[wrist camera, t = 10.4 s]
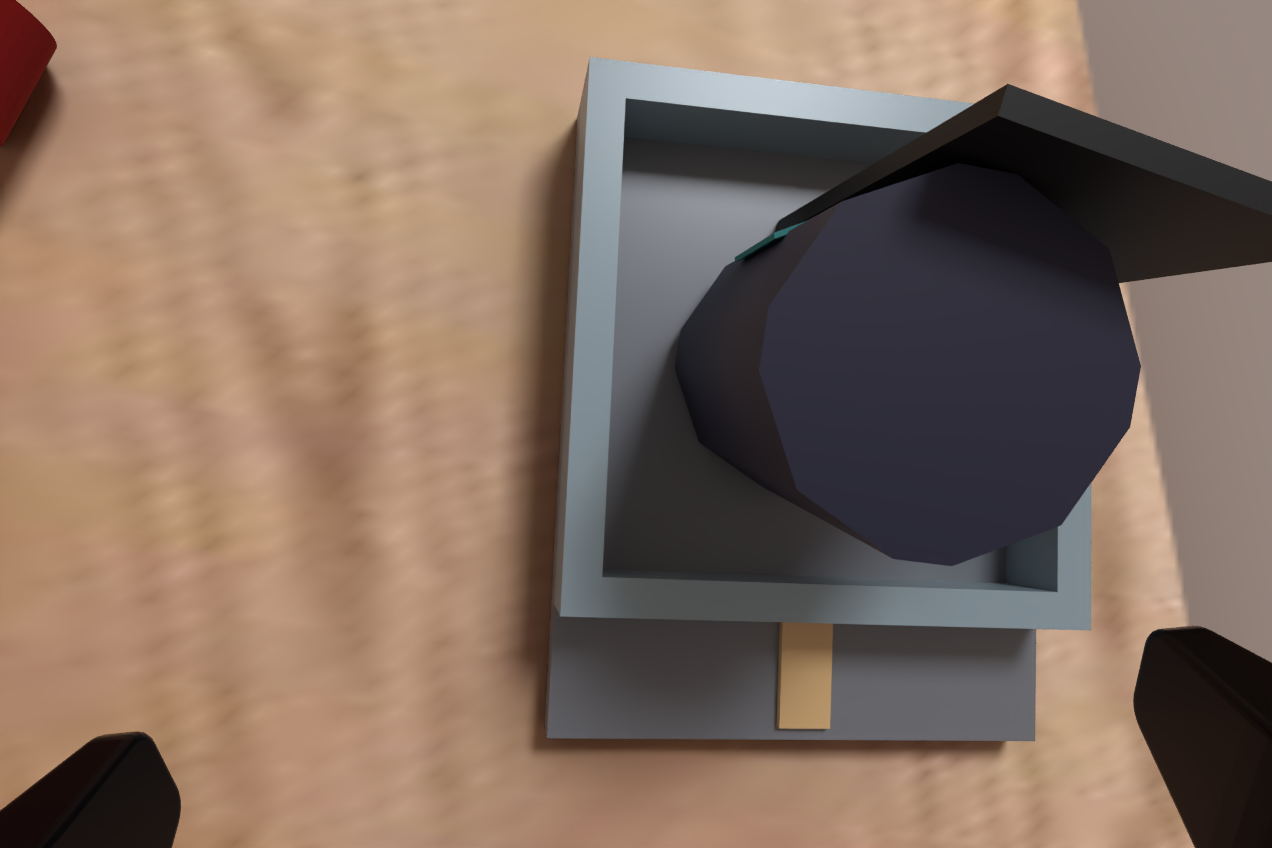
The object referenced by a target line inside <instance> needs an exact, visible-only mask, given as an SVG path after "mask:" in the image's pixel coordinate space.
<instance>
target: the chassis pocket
mask: <svg viewBox="0 0 1272 848" xmlns="http://www.w3.org/2000/svg"><path fill="white" fill-rule="evenodd" d="M973 104H974V103H965V102H957V101H949V100H941V99H932V98H924V97H916V96H908V95H899V94H891V93H883V92H874V91H866V90H858V89H850V88H841V87H833V86H825V85H817V84H808V83H800V82H792V81H784V80H775V79H767V78H759V77H750V76H742V75H734V74H726V73H717V72H709V71H701V70H693V69H684V68H676V67H668V66H659V65H651V64H643V63H635V62H626V61H618V60H610V59H602V58H593V57H590V59H589V63H588V68H587V73H586V78H585V83H584V87H583V92H582V97H581V102H580V107H579V111H578V116H577V133H576V151H575V170H574V189H573V207H572V226H571V244H570V263H569V282H568V300H567V319H566V338H565V356H564V375H563V393H562V412H561V431H560V449H559V468H558V487H557V505H556V524H555V542H554V561H553V580H552V598H551V617H550V636H549V654H548V673H547V692H546V710H545V731H546V736H547V738H571V739H751V740H932V741H1035V689H1036V629H1059V630H1091V484H1090V485H1089V486H1088V488H1087V489H1086V491H1085V492H1084V494H1083V495H1082V497H1081V498H1080V499H1079V501H1078V502H1077V504H1076V505H1075V507H1074V508H1073V509H1072V511H1071V512H1070V514H1069V515H1068V517H1067V518H1066V519H1065V521H1064V522H1063V524H1062V525H1061V526H1058V527H1056V528H1053V529H1050V530H1048V531H1045V532H1042V533H1040V534H1037V535H1034V536H1032V537H1029V538H1026V539H1024V540H1021V541H1018V542H1016V543H1013V544H1010V545H1008V546H1005V547H1002V548H1000V549H997V550H994V551H992V552H989V553H986V554H984V555H981V556H978V557H976V558H973V559H970V560H968V561H965V562H962V563H960V564H957V565H954V566H945V565H937V564H929V563H921V562H913V561H905V560H897V559H892V558H891V557H889V556H887V555H885V554H883V553H882V552H880V551H878V550H876V549H874V548H873V547H871V546H869V545H867V544H865V543H863V542H862V541H860V540H858V539H856V538H854V537H853V536H851V535H849V534H847V533H845V532H843V531H842V530H840V529H838V528H836V527H834V526H833V525H831V524H829V523H827V522H825V521H824V520H822V519H820V518H818V517H816V516H814V515H813V514H811V513H809V512H807V511H805V510H804V509H802V508H800V507H798V506H796V505H795V504H793V503H791V502H789V501H787V500H785V499H784V498H782V497H780V496H778V495H776V494H775V493H773V492H771V491H769V490H767V489H766V488H764V487H762V486H760V485H759V484H757V483H756V482H754V481H753V480H752V479H750V478H749V477H747V476H746V475H745V474H743V473H742V472H740V471H739V470H738V469H736V468H735V467H733V466H732V465H730V464H729V463H728V462H726V461H725V460H723V459H722V458H721V457H719V456H718V455H716V454H715V453H714V452H712V451H711V450H709V449H708V448H707V447H705V446H704V445H702V444H701V443H700V442H699V441H698V438H697V434H696V431H695V428H694V425H693V422H692V419H691V416H690V413H689V410H688V407H687V404H686V401H685V398H684V395H683V392H682V389H681V386H680V383H679V380H678V377H677V374H676V371H675V365H676V358H677V351H678V344H679V337H680V331H681V328H682V327H683V326H684V324H685V323H686V321H687V320H688V318H689V317H690V316H691V314H692V313H693V311H694V310H695V309H696V307H697V306H698V304H699V303H700V301H701V300H702V299H703V297H704V296H705V294H706V293H707V291H708V290H709V289H710V287H711V286H712V284H713V283H714V281H715V280H716V279H717V277H718V276H719V274H720V273H721V271H722V270H723V269H724V267H725V266H726V265H728V264H730V263H732V262H733V261H735V257H736V256H738V255H739V254H741V253H742V252H744V251H746V250H747V249H749V248H750V247H752V246H754V245H755V244H757V243H758V242H760V241H762V240H763V239H765V238H766V237H768V236H770V235H771V234H773V233H775V231H776V227H777V224H778V221H779V220H780V219H782V218H784V217H785V216H787V215H789V214H790V213H792V212H794V211H795V210H797V209H799V208H800V207H802V206H804V205H805V204H807V203H809V202H811V201H812V200H814V199H816V198H817V197H819V196H821V195H822V194H824V193H826V192H827V191H829V190H831V189H832V188H834V187H836V186H837V185H839V184H841V183H842V182H844V181H846V180H847V179H849V178H851V177H852V176H854V175H856V174H858V173H859V172H861V171H863V170H864V169H866V168H868V167H869V166H871V165H873V164H874V163H876V162H878V161H879V160H881V159H883V158H884V157H886V156H888V155H889V154H891V153H893V152H894V151H896V150H898V149H899V148H901V147H903V146H905V145H906V144H908V143H910V142H911V141H913V140H915V139H916V138H918V137H920V136H921V135H923V134H925V133H926V132H928V131H930V130H931V129H933V128H935V127H936V126H938V125H940V124H941V123H943V122H945V121H947V120H948V119H950V118H952V117H953V116H955V115H957V114H958V113H960V112H962V111H963V110H965V109H967V108H968V107H970V106H972V105H973Z"/></svg>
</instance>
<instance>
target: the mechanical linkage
mask: <svg viewBox="0 0 1272 848" xmlns="http://www.w3.org/2000/svg"><path fill="white" fill-rule="evenodd" d="M56 48H57V44H56V41H55V39H54V38H53V36H52V35H51V33H50V32H49V31H48V30H47V29H46V27H45V26H44V25H43V24H42V23H41V22H40V21H39V20H38V19H37V18H35V17H34V16H33V15H32V14H31V13H30V12H29V11H28V10H27V9H25V8H24V7H23V6H22V5H21V4H20V3H18V2H17V1H16V0H0V146H3V145H4V143H5V141H6V139H7V137H8V135H9V134H10V132H11V130H12V128H13V126H14V125H15V123H16V121H17V119H18V117H19V116H20V114H21V112H22V110H23V108H24V106H25V105H26V103H27V101H28V99H29V97H30V96H31V94H32V92H33V90H34V88H35V86H36V85H37V83H38V81H39V79H40V77H41V76H42V74H43V72H44V70H45V68H46V66H47V65H48V63H49V61H50V59H51V57H52V56H53V54H54V52H55V50H56Z"/></svg>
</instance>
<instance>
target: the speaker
mask: <svg viewBox="0 0 1272 848" xmlns="http://www.w3.org/2000/svg"><path fill="white" fill-rule="evenodd" d="M1266 262H1272V182H1271V181H1269V180H1266V179H1263V178H1260V177H1258V176H1255V175H1252V174H1250V173H1247V172H1244V171H1242V170H1239V169H1236V168H1233V167H1231V166H1228V165H1225V164H1223V163H1220V162H1217V161H1214V160H1212V159H1209V158H1206V157H1204V156H1201V155H1198V154H1195V153H1193V152H1190V151H1188V150H1185V149H1182V148H1179V147H1177V146H1174V145H1171V144H1169V143H1166V142H1163V141H1161V140H1158V139H1155V138H1153V137H1150V136H1147V135H1144V134H1142V133H1139V132H1136V131H1133V130H1131V129H1128V128H1126V127H1123V126H1120V125H1117V124H1115V123H1112V122H1109V121H1107V120H1104V119H1101V118H1099V117H1096V116H1093V115H1090V114H1088V113H1085V112H1082V111H1080V110H1077V109H1074V108H1072V107H1069V106H1066V105H1063V104H1061V103H1058V102H1055V101H1053V100H1050V99H1047V98H1045V97H1042V96H1039V95H1036V94H1034V93H1031V92H1028V91H1026V90H1023V89H1020V88H1018V87H1015V86H1012V85H1009V84H1007V85H1005V86H1004V87H1002V88H1000V89H999V90H997V91H995V92H994V93H992V94H990V95H988V96H987V97H985V98H983V99H982V100H980V101H978V102H977V103H975V104H973V105H972V106H970V107H968V108H967V109H965V110H963V111H962V112H960V113H958V114H957V115H955V116H953V117H952V118H950V119H948V120H947V121H945V122H943V123H941V124H940V125H938V126H936V127H935V128H933V129H931V130H930V131H928V132H926V133H925V134H923V135H921V136H920V137H918V138H916V139H915V140H913V141H911V142H910V143H908V144H906V145H905V146H903V147H901V148H899V149H898V150H896V151H894V152H893V153H891V154H889V155H888V156H886V157H884V158H883V159H881V160H879V161H878V162H876V163H874V164H873V165H871V166H869V167H868V168H866V169H864V170H863V171H861V172H859V173H858V174H856V175H854V176H852V177H851V178H849V179H847V180H846V181H844V182H842V183H841V184H839V185H837V186H836V187H834V188H832V189H831V190H829V191H827V192H826V193H824V194H822V195H821V196H819V197H817V198H816V199H814V200H812V201H811V202H809V203H807V204H805V205H804V206H802V207H800V208H799V209H797V210H795V211H794V212H792V213H790V214H789V215H787V216H785V217H784V218H782V219H780V220H779V221H778V224H777V227H776V231H775V233H773V234H771V235H770V236H768V237H766V238H765V239H763V240H762V241H760V242H758V243H757V244H755V245H754V246H752V247H750V248H749V249H747V250H746V251H744V252H742V253H741V254H739V255H738V256H736V257H735V261H733V262H732V263H730V264H728V265H726V266H725V267H724V269H723V270H722V271H721V273H720V274H719V276H718V277H717V279H716V280H715V281H714V283H713V284H712V286H711V287H710V289H709V290H708V291H707V293H706V294H705V296H704V297H703V299H702V300H701V301H700V303H699V304H698V306H697V307H696V309H695V310H694V311H693V313H692V314H691V316H690V317H689V318H688V320H687V321H686V323H685V324H684V326H683V327H682V328H681V331H680V337H679V344H678V351H677V358H676V365H675V371H676V374H677V377H678V380H679V383H680V386H681V389H682V392H683V395H684V398H685V401H686V404H687V407H688V410H689V413H690V416H691V419H692V422H693V425H694V428H695V431H696V434H697V438H698V441H699V442H700V443H701V444H702V445H704V446H705V447H707V448H708V449H709V450H711V451H712V452H714V453H715V454H716V455H718V456H719V457H721V458H722V459H723V460H725V461H726V462H728V463H729V464H730V465H732V466H733V467H735V468H736V469H738V470H739V471H740V472H742V473H743V474H745V475H746V476H747V477H749V478H750V479H752V480H753V481H754V482H756V483H757V484H759V485H760V486H762V487H764V488H766V489H767V490H769V491H771V492H773V493H775V494H776V495H778V496H780V497H782V498H784V499H785V500H787V501H789V502H791V503H793V504H795V505H796V506H798V507H800V508H802V509H804V510H805V511H807V512H809V513H811V514H813V515H814V516H816V517H818V518H820V519H822V520H824V521H825V522H827V523H829V524H831V525H833V526H834V527H836V528H838V529H840V530H842V531H843V532H845V533H847V534H849V535H851V536H853V537H854V538H856V539H858V540H860V541H862V542H863V543H865V544H867V545H869V546H871V547H873V548H874V549H876V550H878V551H880V552H882V553H883V554H885V555H887V556H889V557H891V558H892V559H897V560H905V561H913V562H921V563H929V564H937V565H945V566H954V565H957V564H960V563H962V562H965V561H968V560H970V559H973V558H976V557H978V556H981V555H984V554H986V553H989V552H992V551H994V550H997V549H1000V548H1002V547H1005V546H1008V545H1010V544H1013V543H1016V542H1018V541H1021V540H1024V539H1026V538H1029V537H1032V536H1034V535H1037V534H1040V533H1042V532H1045V531H1048V530H1050V529H1053V528H1056V527H1058V526H1061V525H1062V524H1063V522H1064V521H1065V519H1066V518H1067V517H1068V515H1069V514H1070V512H1071V511H1072V509H1073V508H1074V507H1075V505H1076V504H1077V502H1078V501H1079V499H1080V498H1081V497H1082V495H1083V494H1084V492H1085V491H1086V489H1087V488H1088V486H1089V485H1090V484H1091V482H1092V481H1093V479H1094V478H1095V476H1096V475H1097V474H1098V472H1099V471H1100V469H1101V468H1102V466H1103V465H1104V464H1105V462H1106V461H1107V459H1108V458H1109V456H1110V455H1111V453H1112V452H1113V451H1114V449H1115V448H1116V446H1117V445H1118V443H1119V442H1120V441H1121V439H1122V438H1123V436H1124V435H1125V433H1126V432H1127V431H1128V429H1129V428H1130V424H1131V419H1132V413H1133V408H1134V402H1135V396H1136V391H1137V385H1138V380H1139V374H1140V368H1141V365H1140V361H1139V357H1138V354H1137V350H1136V346H1135V343H1134V339H1133V335H1132V331H1131V328H1130V324H1129V320H1128V316H1127V313H1126V309H1125V305H1124V301H1123V298H1122V294H1121V290H1120V286H1119V283H1123V282H1130V281H1138V280H1144V279H1151V278H1159V277H1166V276H1172V275H1180V274H1188V273H1195V272H1202V271H1208V270H1216V269H1223V268H1230V267H1238V266H1245V265H1252V264H1259V263H1266Z"/></svg>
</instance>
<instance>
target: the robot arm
mask: <svg viewBox="0 0 1272 848" xmlns="http://www.w3.org/2000/svg"><path fill="white" fill-rule="evenodd" d="M1133 702H1134V712H1135V716H1136V720H1137V723H1138V725H1139V728H1140V730H1141V732H1142V734H1143V736H1144V738H1145V741H1146V743H1147V745H1148V747H1149V749H1150V751H1151V754H1152V756H1153V758H1154V760H1155V762H1156V764H1157V767H1158V769H1159V771H1160V773H1161V775H1162V777H1163V780H1164V782H1165V784H1166V786H1167V788H1168V790H1169V793H1170V795H1171V797H1172V799H1173V801H1174V803H1175V806H1176V808H1177V810H1178V812H1179V814H1180V816H1181V819H1182V821H1183V823H1184V825H1185V827H1186V829H1187V832H1188V834H1189V836H1190V838H1191V840H1192V842H1193V845H1194V847H1195V848H1272V663H1271V662H1269V661H1268V660H1266V659H1264V658H1262V657H1260V656H1258V655H1256V654H1254V653H1252V652H1251V651H1249V650H1247V649H1245V648H1243V647H1241V646H1239V645H1237V644H1235V643H1234V642H1232V641H1230V640H1228V639H1226V638H1224V637H1222V636H1221V635H1218V634H1217V633H1215V632H1213V631H1211V630H1209V629H1207V628H1203V627H1199V626H1186V627H1176V628H1166V629H1158V630H1156V631H1153V632H1152V633H1151V634H1150V635H1149V636H1148V638H1147V640H1146V643H1145V647H1144V651H1143V656H1142V660H1141V665H1140V669H1139V674H1138V678H1137V683H1136V687H1135V692H1134V699H1133ZM180 812H181V800H180V795H179V791H178V788H177V786H176V784H175V782H174V780H173V778H172V776H171V774H170V772H169V770H168V768H167V766H166V764H165V762H164V760H163V758H162V756H161V754H160V752H159V750H158V748H157V746H156V744H155V742H154V741H153V739H152V738H151V737H150V736H148V735H147V734H146V733H144V732H127V733H117V734H107V735H102V736H98V737H96V738H94V739H92V740H91V741H89V742H88V743H86V744H85V745H84V746H83V747H81V748H80V749H79V750H77V751H76V752H75V753H74V754H72V755H71V756H70V757H68V758H67V759H66V760H65V761H63V762H62V763H61V764H59V765H58V766H57V767H56V768H54V769H53V770H52V771H50V772H49V773H48V774H47V775H45V776H44V777H43V778H42V779H40V780H39V781H38V782H36V783H35V784H34V785H33V786H31V787H30V788H29V789H27V790H26V791H25V792H24V793H22V794H21V795H20V796H18V797H17V798H16V799H15V800H13V801H12V802H11V803H9V804H8V805H7V806H6V807H4V808H3V809H2V810H0V848H172V846H173V842H174V838H175V834H176V831H177V827H178V823H179V819H180Z"/></svg>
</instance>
